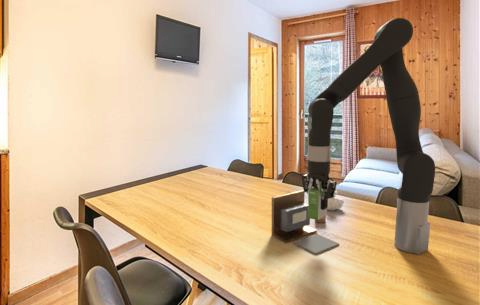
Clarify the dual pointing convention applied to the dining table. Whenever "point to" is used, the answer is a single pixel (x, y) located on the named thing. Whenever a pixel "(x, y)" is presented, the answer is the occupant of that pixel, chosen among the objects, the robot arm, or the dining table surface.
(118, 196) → the dining table surface
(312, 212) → the ink box
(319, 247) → the mat
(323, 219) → the brown egg
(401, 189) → the robot arm
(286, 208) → the open brown box
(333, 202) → the bust
